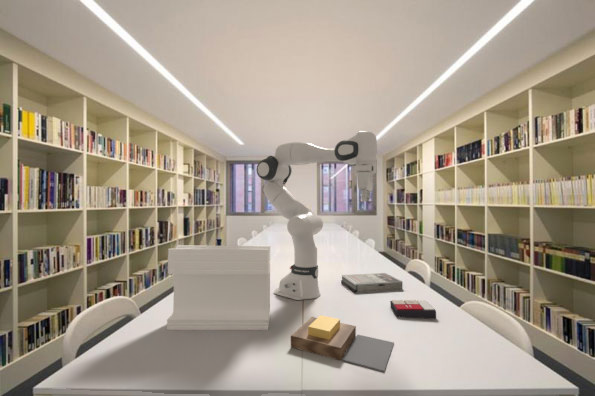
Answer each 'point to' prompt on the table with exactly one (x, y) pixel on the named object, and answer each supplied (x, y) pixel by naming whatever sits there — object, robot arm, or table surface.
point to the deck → (324, 340)
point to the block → (220, 287)
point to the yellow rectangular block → (324, 327)
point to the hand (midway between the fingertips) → (365, 201)
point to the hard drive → (371, 282)
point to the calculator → (413, 309)
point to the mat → (369, 352)
